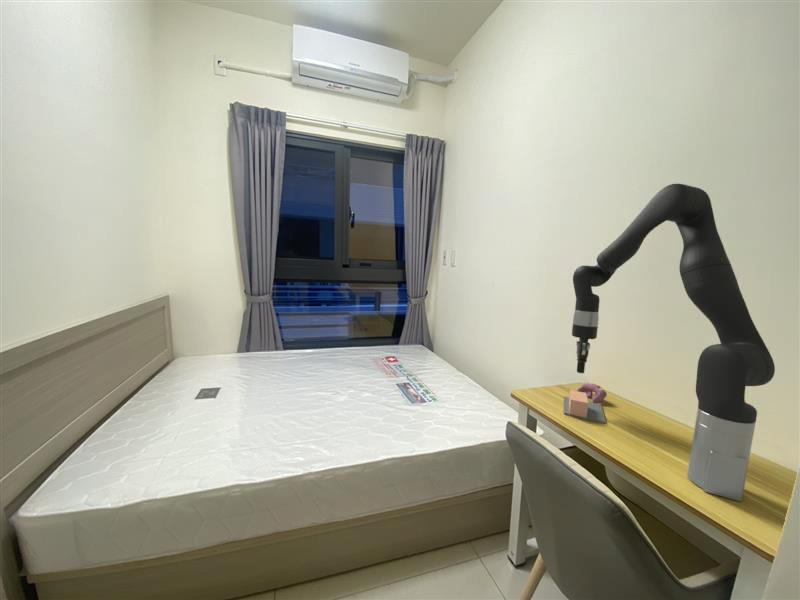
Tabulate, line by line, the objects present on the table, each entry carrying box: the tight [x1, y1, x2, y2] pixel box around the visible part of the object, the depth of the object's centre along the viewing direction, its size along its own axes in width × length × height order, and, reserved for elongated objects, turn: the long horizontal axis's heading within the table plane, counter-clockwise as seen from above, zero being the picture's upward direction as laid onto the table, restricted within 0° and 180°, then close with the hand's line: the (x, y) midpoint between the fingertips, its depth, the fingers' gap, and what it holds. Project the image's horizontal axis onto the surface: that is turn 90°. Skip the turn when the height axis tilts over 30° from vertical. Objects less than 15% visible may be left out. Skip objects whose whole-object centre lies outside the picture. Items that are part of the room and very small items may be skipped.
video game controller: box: [576, 382, 608, 404], centre depth 122 cm, size 10×5×7 cm, turn 11°
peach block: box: [569, 389, 589, 418], centre depth 110 cm, size 5×5×10 cm
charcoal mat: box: [563, 396, 607, 424], centre depth 112 cm, size 16×12×1 cm
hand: (580, 372), depth 112 cm, fingers closed
